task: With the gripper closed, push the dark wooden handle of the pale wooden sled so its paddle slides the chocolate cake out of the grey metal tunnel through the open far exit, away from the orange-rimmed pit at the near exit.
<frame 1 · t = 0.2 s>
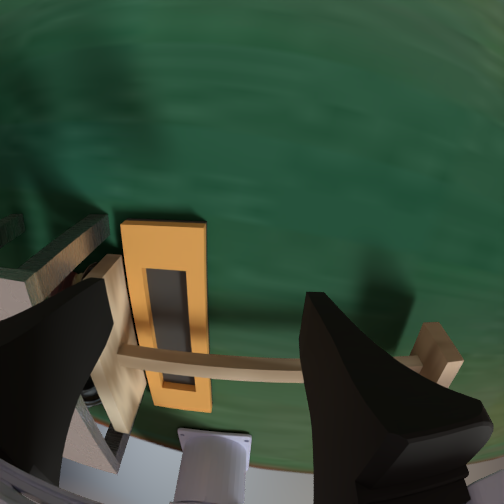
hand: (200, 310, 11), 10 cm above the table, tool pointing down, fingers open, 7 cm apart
tunnel: (75, 316, 24), on the table
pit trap: (174, 329, 24), on the table
sled: (277, 369, 20), point 4 cm above the table, slide at 0.0 cm
chocolate cake: (83, 313, 24), on the table
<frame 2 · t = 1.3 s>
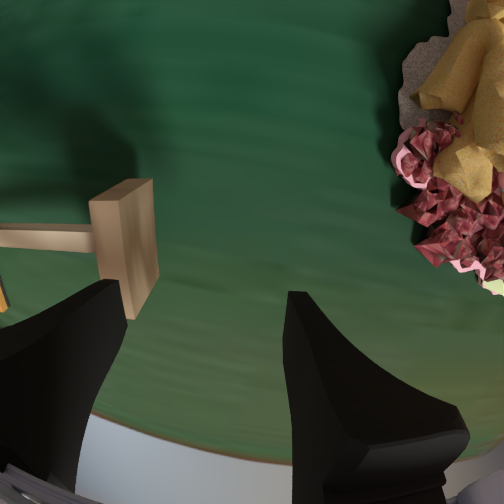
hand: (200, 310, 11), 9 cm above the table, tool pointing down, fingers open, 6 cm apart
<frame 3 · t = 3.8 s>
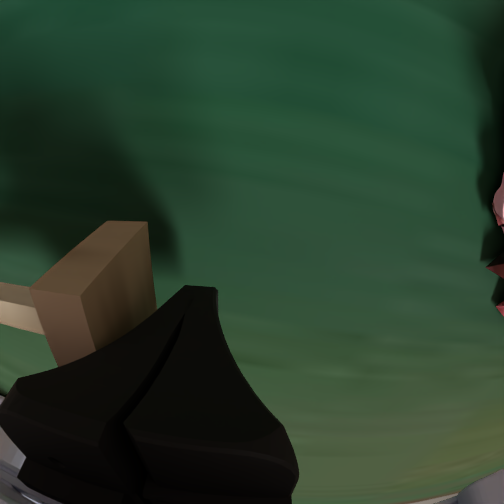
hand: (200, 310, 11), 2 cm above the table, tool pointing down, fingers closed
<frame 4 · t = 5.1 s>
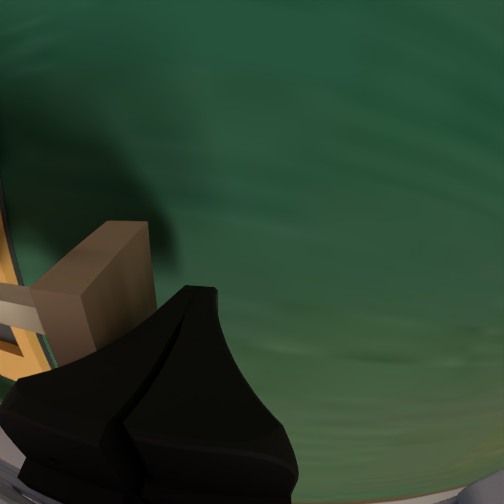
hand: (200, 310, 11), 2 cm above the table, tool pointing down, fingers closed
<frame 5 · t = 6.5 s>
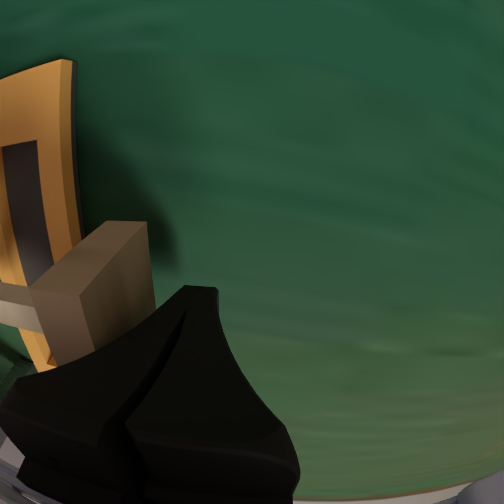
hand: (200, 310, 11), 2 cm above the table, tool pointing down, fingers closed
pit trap: (46, 264, 13), on the table
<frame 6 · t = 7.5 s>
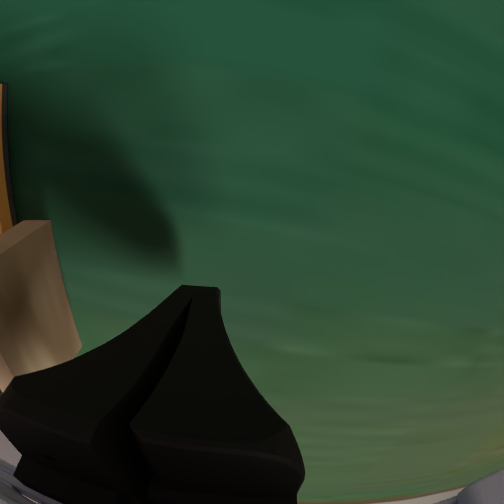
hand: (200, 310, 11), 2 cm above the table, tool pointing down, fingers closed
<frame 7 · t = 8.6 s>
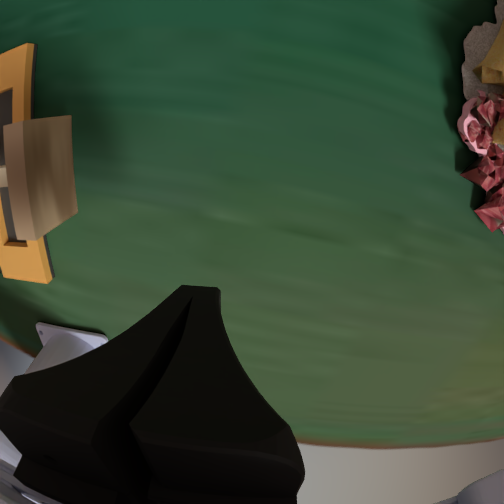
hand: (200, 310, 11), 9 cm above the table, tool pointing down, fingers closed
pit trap: (12, 167, 18), on the table
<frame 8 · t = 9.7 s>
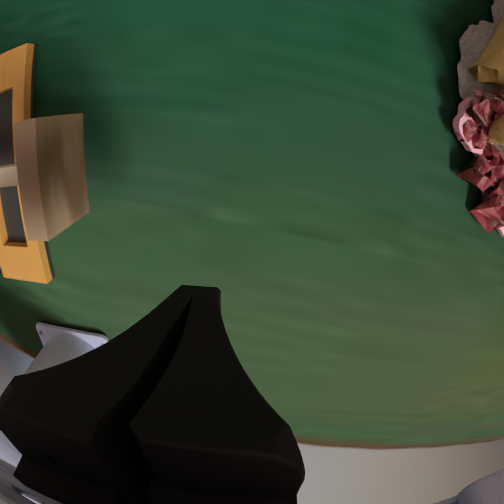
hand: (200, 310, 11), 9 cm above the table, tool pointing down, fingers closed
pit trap: (12, 167, 18), on the table
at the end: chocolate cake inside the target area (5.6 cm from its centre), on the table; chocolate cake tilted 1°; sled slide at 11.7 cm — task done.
